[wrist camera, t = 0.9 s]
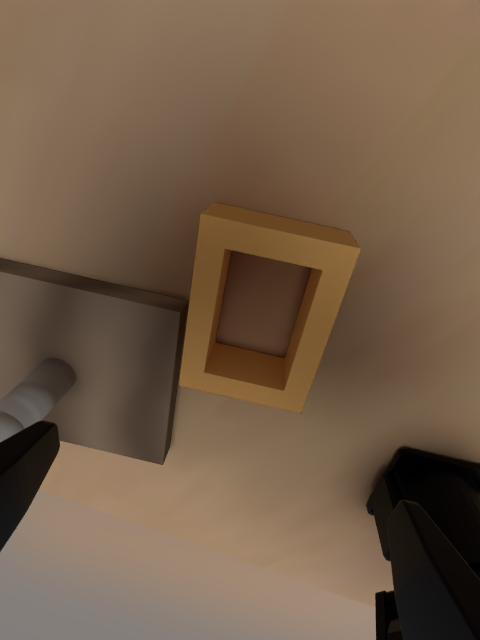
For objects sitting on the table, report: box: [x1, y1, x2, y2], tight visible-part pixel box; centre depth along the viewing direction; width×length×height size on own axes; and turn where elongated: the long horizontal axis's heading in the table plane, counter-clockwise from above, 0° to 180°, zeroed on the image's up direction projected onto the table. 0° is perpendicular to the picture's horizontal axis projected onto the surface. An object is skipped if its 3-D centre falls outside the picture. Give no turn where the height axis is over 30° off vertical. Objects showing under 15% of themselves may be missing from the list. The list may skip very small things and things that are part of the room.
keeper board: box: [0, 258, 188, 465], centre depth 19 cm, size 14×12×7 cm
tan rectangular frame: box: [179, 202, 361, 414], centre depth 17 cm, size 7×9×3 cm
